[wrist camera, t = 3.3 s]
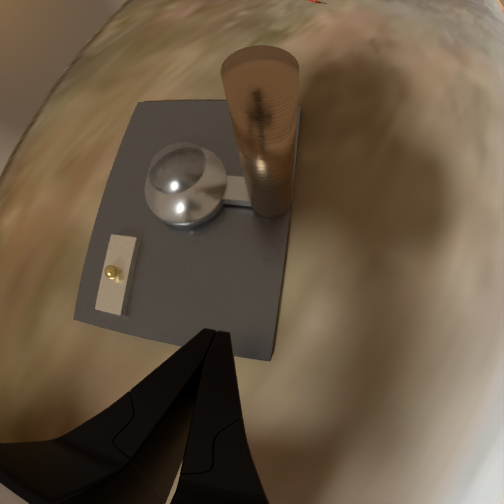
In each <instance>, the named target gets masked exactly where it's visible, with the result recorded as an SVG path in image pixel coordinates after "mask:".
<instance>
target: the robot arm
mask: <svg viewBox="0 0 504 504" xmlns="http://www.w3.org/2000/svg"><path fill="white" fill-rule="evenodd" d="M182 460H183V462H182ZM181 463H182V467H181V472H180V477H179V481H178V485H177V489H176V492H175V494H174V496H173V498H172V500H171V503H170V504H269V502H268V500H267V497H266V495H265V492H264V489H263V487H262V484H261V481H260V479H259V476H258V473H257V470H256V467H255V465H254V462H253V459H252V456H251V453H250V449H249V446H248V442H247V437H246V433H245V427H244V421H243V416H242V409H241V403H240V396H239V389H238V383H237V376H236V369H235V362H234V355H233V348H232V341H231V334H230V332H226V331H220V330H219V331H216V330H214V329H208V328H204V329H202V330H201V331H200V332H199V333H197V334H196V335H195V336H194V337H193V338H192V339H190V340H189V341H188V342H187V343H186V344H185V345H183V346H182V347H181V348H180V349H179V350H178V351H176V352H175V353H174V354H173V355H172V356H170V357H169V358H168V359H167V360H166V361H164V362H163V363H162V364H161V365H160V366H159V367H157V368H156V369H155V370H154V371H153V372H151V373H150V374H149V375H148V376H147V377H145V378H144V379H143V380H142V381H141V382H139V383H138V384H137V385H136V386H135V387H133V388H132V389H131V390H130V391H128V392H127V393H126V394H125V395H123V396H122V397H121V398H120V399H118V400H117V401H116V402H115V403H113V404H112V405H111V406H109V407H108V408H107V409H105V410H104V411H102V412H101V413H99V414H98V415H96V416H94V417H93V418H91V419H90V420H88V421H86V422H85V423H83V424H82V425H80V426H78V427H77V428H75V429H73V430H72V431H70V432H68V433H67V434H65V435H63V436H61V437H58V438H55V439H52V440H47V441H34V442H18V443H0V504H165V503H166V501H167V498H168V496H169V493H170V491H171V488H172V486H173V483H174V480H175V478H176V475H177V473H178V470H179V468H180V465H181Z"/></svg>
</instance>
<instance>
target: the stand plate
mask: <svg viewBox="0 0 504 504" xmlns="http://www.w3.org/2000/svg"><path fill="white" fill-rule="evenodd" d="M300 113H301V106H300V105H298V107H297V125H296V142H295V158H294V173H293V184H294V174H295V165H296V155H297V145H298V135H299V124H300ZM177 142H188V143H192V144H194V145H196V146H198V147H200V148H204V149H207V150H209V151H211V152H213V153H214V154H215V155H216V156H217V157H218V158H219V159H220V160H221V161H222V163H223V165H224V168H225V171H226V174H227V176H239V177H244V175H243V171H242V166H241V162H240V157H239V153H238V148H237V144H236V139H235V135H234V130H233V126H232V122H231V117H230V113H229V108H228V104H227V101H213V100H189V101H156V102H139V103H137V106H136V108H135V110H134V113H133V115H132V117H131V120H130V122H129V125H128V127H127V130H126V132H125V135H124V137H123V140H122V142H121V145H120V148H119V150H118V153H117V156H116V158H115V161H114V164H113V167H112V170H111V173H110V176H109V179H108V182H107V185H106V188H105V191H104V194H103V197H102V200H101V204H100V207H99V210H98V214H97V217H96V221H95V224H94V228H93V231H92V235H91V239H90V243H89V247H88V251H87V255H86V259H85V263H84V268H83V272H82V277H81V282H80V286H79V291H78V296H77V302H76V307H75V313H74V320H78V321H81V322H85V323H88V324H92V325H95V326H99V327H102V328H106V329H110V330H114V331H117V332H121V333H125V334H129V335H133V336H138V337H142V338H146V339H150V340H155V341H159V342H164V343H168V344H173V345H178V346H183V345H185V344H186V343H187V342H188V341H189V340H190V339H192V338H193V337H194V336H195V335H196V334H197V333H199V332H200V331H201V330H202V329H204V328H208V329H214V330H216V331H219V330H220V331H226V332H230V334H231V341H232V348H233V355H234V356H237V357H244V358H250V359H257V360H264V361H270V360H271V354H272V347H273V340H274V334H275V327H276V320H277V313H278V305H279V298H280V291H281V283H282V276H283V268H284V260H285V252H286V244H287V236H288V228H289V219H290V211H291V204H290V206H289V207H288V209H287V210H286V211H285V212H283V213H282V214H280V215H277V216H273V217H267V216H263V215H260V214H258V213H257V212H255V211H254V210H253V208H252V207H250V206H240V205H230V204H224V205H223V206H222V208H221V209H220V211H219V212H218V213H217V214H216V215H215V216H214V217H212V218H211V219H210V220H208V221H207V222H205V223H203V224H201V225H198V226H195V227H190V228H178V227H173V226H170V225H168V224H166V223H164V222H163V221H161V220H160V219H159V218H158V217H157V216H156V215H155V214H154V212H153V211H152V210H151V209H150V208H149V206H148V204H147V201H146V198H145V183H146V179H147V176H148V169H149V165H150V163H151V161H152V159H153V157H154V156H155V155H156V154H157V153H158V152H159V151H160V150H161V149H162V148H164V147H166V146H168V145H170V144H173V143H177ZM292 193H293V187H292ZM291 202H292V200H291Z"/></svg>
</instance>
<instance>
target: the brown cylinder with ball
mask: <svg viewBox="0 0 504 504" xmlns="http://www.w3.org/2000/svg"><path fill="white" fill-rule="evenodd" d="M221 77H222V82H223V86H224V90H225V95H226V99H227V104H228V108H229V113H230V117H231V122H232V126H233V130H234V135H235V139H236V144H237V148H238V153H239V157H240V162H241V166H242V171H243V175H244V177H239V176H227V174H226V171H225V168H224V165H223V163H222V161H221V160H220V159H219V158H218V157H217V156H216V155H215V154H214V153H213V152H211V151H209V150H207V149H204V148H200V147H198V146H196V145H194V144H192V143H188V142H177V143H173V144H170V145H168V146H166V147H164V148H162V149H161V150H160V151H159V152H158V153H157V154H156V155H155V156H154V157H153V159H152V161H151V163H150V165H149V169H148V176H147V179H146V183H145V198H146V201H147V204H148V206H149V208H150V209H151V210H152V211H153V212H154V214H155V215H156V216H157V217H158V218H159V219H160V220H161V221H163V222H164V223H166V224H168V225H170V226H173V227H178V228H190V227H195V226H198V225H201V224H203V223H205V222H207V221H208V220H210V219H211V218H212V217H214V216H215V215H216V214H217V213H218V212H219V211H220V209H221V208H222V206H223V205H224V204H230V205H240V206H250V207H252V208H253V210H254V211H255V212H257V213H258V214H260V215H263V216H267V217H273V216H277V215H280V214H282V213H283V212H285V211H286V210H287V209H288V207H289V206H290V204H291V200H292V187H293V173H294V158H295V142H296V125H297V107H298V86H299V64H298V62H297V60H296V59H295V57H294V56H293V55H291V54H290V53H289V52H287V51H285V50H283V49H280V48H277V47H273V46H265V45H259V46H251V47H246V48H243V49H240V50H238V51H236V52H234V53H233V54H231V55H230V56H229V57H228V58H227V59H226V60H225V61H224V62H223V64H222V67H221Z"/></svg>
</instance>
